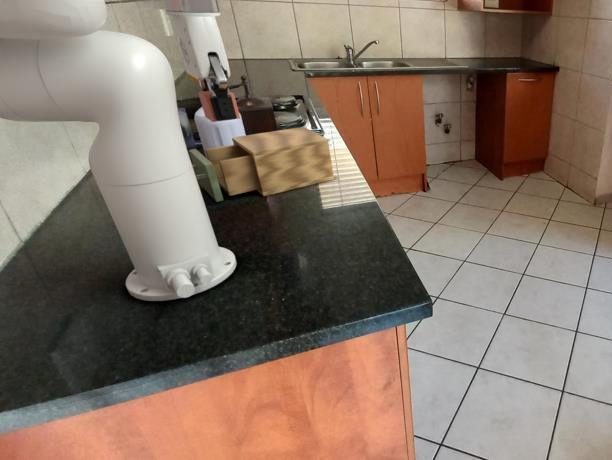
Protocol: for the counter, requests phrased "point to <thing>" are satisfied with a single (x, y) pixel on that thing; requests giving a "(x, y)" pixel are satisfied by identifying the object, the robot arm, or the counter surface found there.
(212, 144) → the soap bottle
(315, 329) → the counter surface
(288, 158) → the cabinet
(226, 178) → the drawer
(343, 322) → the counter surface
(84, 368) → the counter surface
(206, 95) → the block
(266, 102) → the pepper mill
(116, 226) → the robot arm
